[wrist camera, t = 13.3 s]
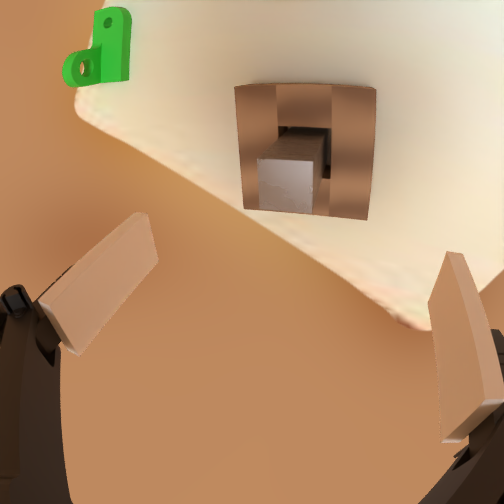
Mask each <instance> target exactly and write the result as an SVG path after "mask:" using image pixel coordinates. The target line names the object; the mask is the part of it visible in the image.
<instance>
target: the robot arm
mask: <svg viewBox="0 0 504 504" xmlns="http://www.w3.org/2000/svg"><path fill="white" fill-rule="evenodd" d="M158 261H159V260H158V256H157V252H156V248H155V244H154V240H153V235H152V232H151V227H150V222H149V218H148V214H147V213H137V212H135V213H134V214H132V215H131V216H130V217H129V218H127V219H126V220H125V221H124V222H123V223H121V224H120V225H119V226H118V227H117V228H115V229H114V230H113V231H112V232H111V233H110V234H108V235H107V236H106V237H105V238H104V239H103V240H101V241H100V242H99V243H98V244H97V245H96V246H95V247H94V248H92V249H91V250H90V251H89V252H88V253H87V254H86V255H84V256H83V257H82V258H81V259H80V260H79V261H78V262H77V263H76V264H74V265H73V266H71V267H69V268H68V269H67V270H66V271H65V272H64V273H63V274H62V276H60V277H59V278H58V279H57V280H56V282H53V283H52V284H51V286H49V287H48V288H47V289H46V290H45V291H44V292H43V293H42V294H41V295H40V296H39V297H38V298H37V299H36V300H35V301H34V302H33V303H32V301H31V299H30V298H29V296H28V294H27V292H26V290H25V288H24V287H23V286H22V285H14V286H11V287H9V288H8V289H7V290H5V291H4V292H3V293H2V294H1V296H0V504H73V503H72V501H71V498H70V494H69V488H68V483H67V476H66V469H65V461H64V452H63V442H62V429H61V410H60V359H61V351H60V347H59V346H58V344H59V343H60V342H61V341H62V342H63V344H64V345H65V347H66V348H67V350H68V351H70V352H72V353H74V354H76V355H78V356H81V354H82V353H83V352H84V350H85V349H86V348H87V346H88V345H89V344H90V343H91V342H92V340H93V339H94V338H95V337H96V335H97V334H98V333H99V331H100V330H101V329H102V328H103V326H104V325H105V324H106V323H107V322H108V320H109V319H110V318H111V317H112V315H113V314H114V313H115V312H116V310H117V309H118V308H119V307H120V306H121V305H122V303H123V302H124V301H125V300H126V299H127V297H128V296H129V295H130V294H131V292H132V291H133V290H134V289H135V288H136V287H137V286H138V285H139V283H140V282H141V281H142V280H143V279H144V278H145V276H146V275H147V274H148V273H149V272H150V271H151V269H152V268H153V267H154V266H155V265H156V264H157V263H158ZM428 308H429V314H430V320H431V326H432V333H433V339H434V347H435V356H436V366H437V377H438V390H439V408H440V443H451V442H452V443H453V442H454V443H455V442H460V441H462V440H463V439H464V438H465V437H466V436H468V435H469V444H468V445H467V446H466V447H464V448H463V449H462V450H460V451H459V452H458V453H457V454H456V455H454V458H456V457H458V458H457V459H456V460H455V461H454V463H453V464H452V465H451V467H450V468H449V469H448V470H447V472H446V473H445V474H444V475H443V476H442V478H441V479H440V480H439V481H438V482H437V484H436V485H435V486H434V487H433V488H432V489H431V491H429V493H428V494H427V495H426V496H425V497H424V498H423V499H422V500H421V501H420V502H419V503H418V504H504V337H503V335H502V334H501V332H500V331H499V330H496V329H490V327H489V323H488V320H487V317H486V314H485V311H484V308H483V305H482V302H481V299H480V296H479V294H478V291H477V288H476V286H475V283H474V280H473V278H472V275H471V273H470V270H469V268H468V265H467V263H466V261H465V258H464V256H463V254H461V253H455V252H449V251H447V252H446V255H445V258H444V261H443V264H442V267H441V269H440V272H439V275H438V278H437V280H436V283H435V286H434V288H433V291H432V293H431V296H430V298H429V301H428Z"/></svg>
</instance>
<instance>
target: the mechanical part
mask: <svg viewBox="0 0 504 504" xmlns="http://www.w3.org/2000/svg"><path fill="white" fill-rule="evenodd" d="M131 24H132V19H131V15H130V13H129V11H128V10H126V9H125V8H120V7H108V8H104V9H101V10H98V11H95V14H94V26H93V43H92V47H91V48H90V49H86V50H81V51H77V52H74V53H72V54H70V55H69V56H68V57H67V59H66V60H65V62H64V65H63V69H62V75H63V79H64V81H65V82H66V84H67V85H68V86H70V87H83V86H89V85H93V84H98V83H106V82H119V81H126V80H129V58H130V38H131ZM81 62H83V64H84V73H83V74H82V75H81V73H80V64H81Z"/></svg>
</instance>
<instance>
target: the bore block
mask: <svg viewBox="0 0 504 504" xmlns="http://www.w3.org/2000/svg"><path fill="white" fill-rule="evenodd" d="M234 89H235V102H236V115H237V128H238V141H239V154H240V167H241V180H242V192H243V205H244V209H251V210H263V209H260V207H259V189H258V171H257V158H258V157H259V156H260V155H261V154H262V153H263V152H264V151H266V150H267V149H268V148H269V147H270V146H271V145H272V144H273V143H274V142H275V141H276V140H277V139H278V138H279V137H280V136H282V135H283V134H284V133H285V132H286V131H287V130H288V129H289V128H290V127H291V126H297V127H319V128H328V144H327V162H326V166H325V169H324V173H323V177H322V180H321V184H320V187H319V191H318V194H317V198H316V201H315V205H314V208H313V212H312V214H310V213H299V212H288V211H276V210H264V211H276V212H288V213H299V214H310V215H320V216H330V217H340V218H349V219H358V220H367V218H368V210H369V201H370V192H371V181H372V170H373V157H374V142H375V122H376V89H374V88H372V87H362V86H350V85H335V84H311V83H270V84H249V85H243V86H236V87H234Z"/></svg>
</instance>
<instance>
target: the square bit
mask: <svg viewBox="0 0 504 504" xmlns="http://www.w3.org/2000/svg"><path fill="white" fill-rule="evenodd" d="M327 144H328V128H319V127H297V126H291V127H290V128H289V129H288V130H287V131H286V132H285V133H284V134H283V135H282V136H280V137H279V138H278V139H277V140H276V141H275V142H274V143H273V144H272V145H271V146H270V147H269V148H268V149H267V150H266V151H264V152H263V153H262V154H261V155H260V156H259V157H258V158H257V171H258V189H259V207H260V209H263V210H276V211H288V212H299V213H310V214H312V212H313V208H314V205H315V201H316V198H317V194H318V191H319V187H320V184H321V180H322V177H323V173H324V169H325V166H326V162H327Z"/></svg>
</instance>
